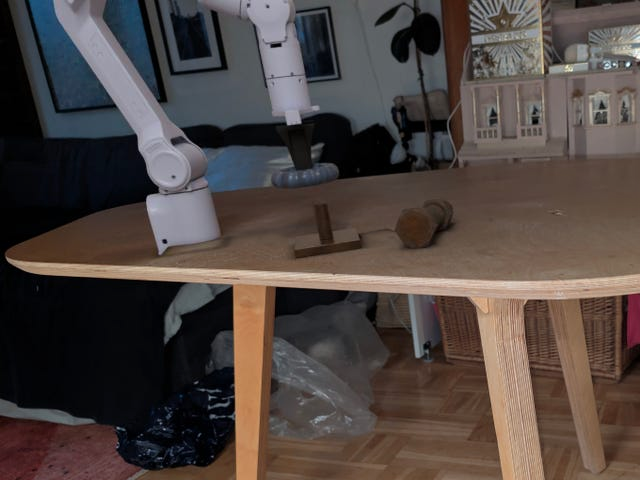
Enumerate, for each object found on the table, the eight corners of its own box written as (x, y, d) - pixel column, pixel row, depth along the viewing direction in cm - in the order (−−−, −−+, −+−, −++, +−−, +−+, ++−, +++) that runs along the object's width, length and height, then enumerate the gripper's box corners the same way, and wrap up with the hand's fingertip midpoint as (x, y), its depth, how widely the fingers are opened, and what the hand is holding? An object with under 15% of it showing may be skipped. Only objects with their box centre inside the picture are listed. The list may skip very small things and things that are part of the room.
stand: (296, 258, 96) (286, 213, 94) (297, 244, 105) (288, 202, 102) (361, 247, 98) (353, 203, 95) (357, 235, 106) (350, 194, 104)
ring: (271, 192, 100) (267, 175, 99) (274, 184, 109) (270, 168, 108) (341, 182, 102) (338, 166, 101) (338, 175, 111) (335, 159, 110)
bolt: (451, 233, 108) (423, 256, 94) (422, 219, 108) (390, 239, 95) (466, 199, 106) (439, 217, 92) (436, 184, 106) (405, 200, 92)
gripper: (314, 73, 97) (332, 173, 103) (312, 75, 110) (328, 163, 116) (262, 79, 96) (283, 179, 101) (266, 80, 109) (285, 169, 114)
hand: (304, 171), depth 108 cm, fingers closed on ring, 2 cm apart
